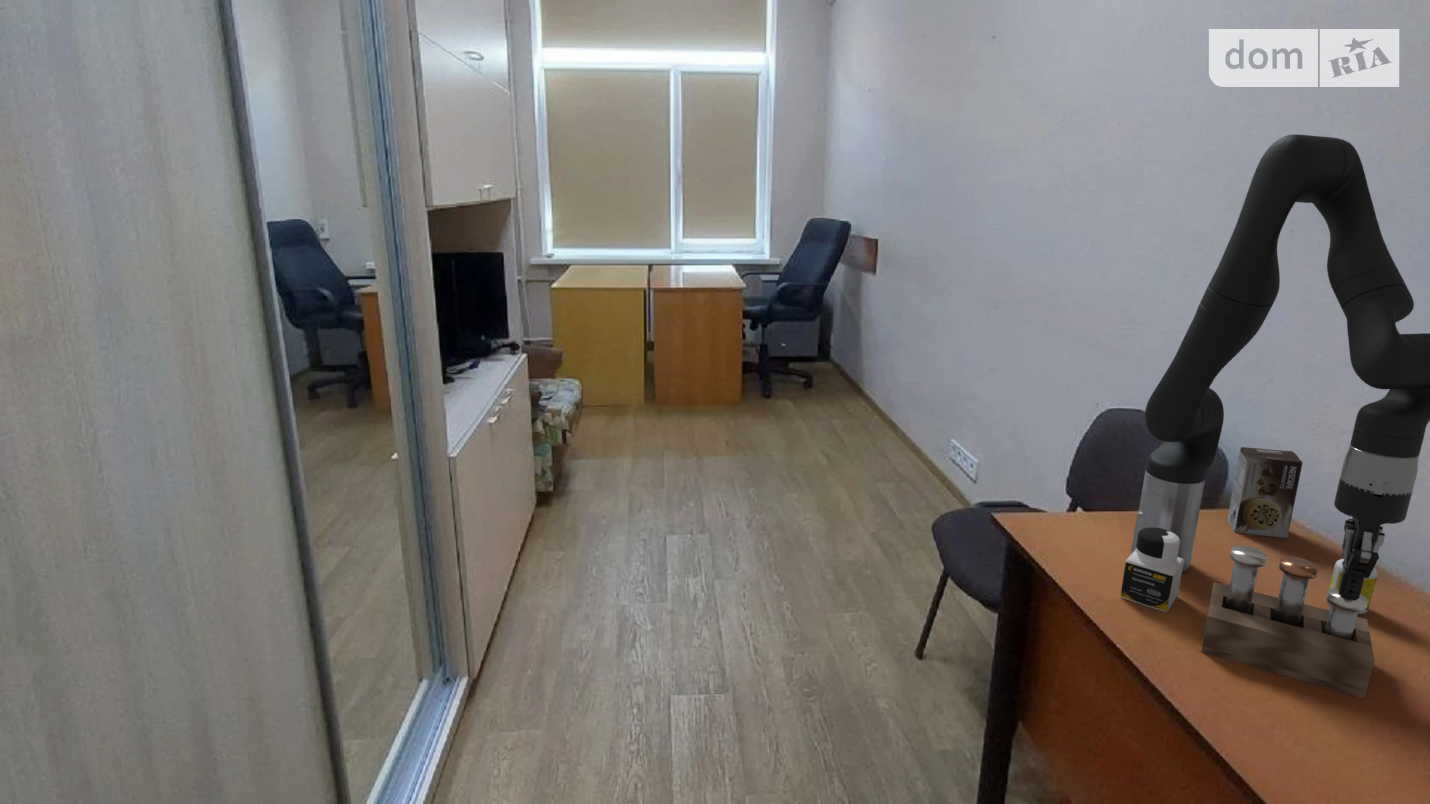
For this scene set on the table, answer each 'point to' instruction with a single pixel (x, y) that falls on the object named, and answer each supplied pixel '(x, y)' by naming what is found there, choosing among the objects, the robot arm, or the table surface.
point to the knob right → (1343, 614)
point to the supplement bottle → (1366, 587)
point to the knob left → (1244, 577)
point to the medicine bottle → (1153, 569)
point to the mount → (1289, 643)
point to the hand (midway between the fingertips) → (1348, 596)
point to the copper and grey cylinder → (1293, 589)
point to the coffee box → (1264, 492)
